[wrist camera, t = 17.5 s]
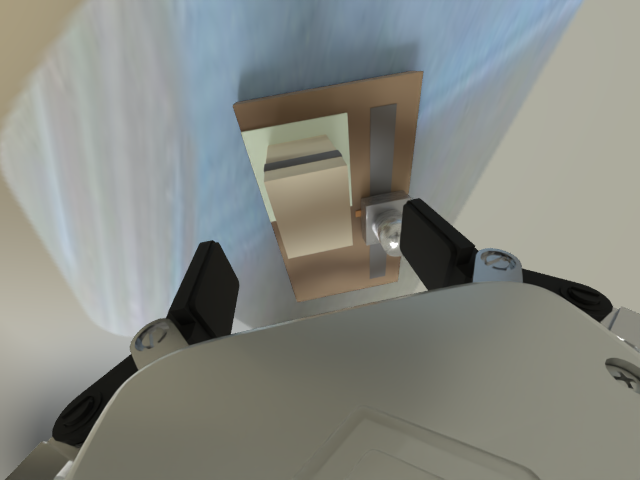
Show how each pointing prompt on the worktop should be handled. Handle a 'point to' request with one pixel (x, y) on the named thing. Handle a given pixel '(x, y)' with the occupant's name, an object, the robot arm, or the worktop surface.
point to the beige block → (309, 195)
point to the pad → (277, 134)
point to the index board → (365, 167)
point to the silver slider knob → (383, 220)
